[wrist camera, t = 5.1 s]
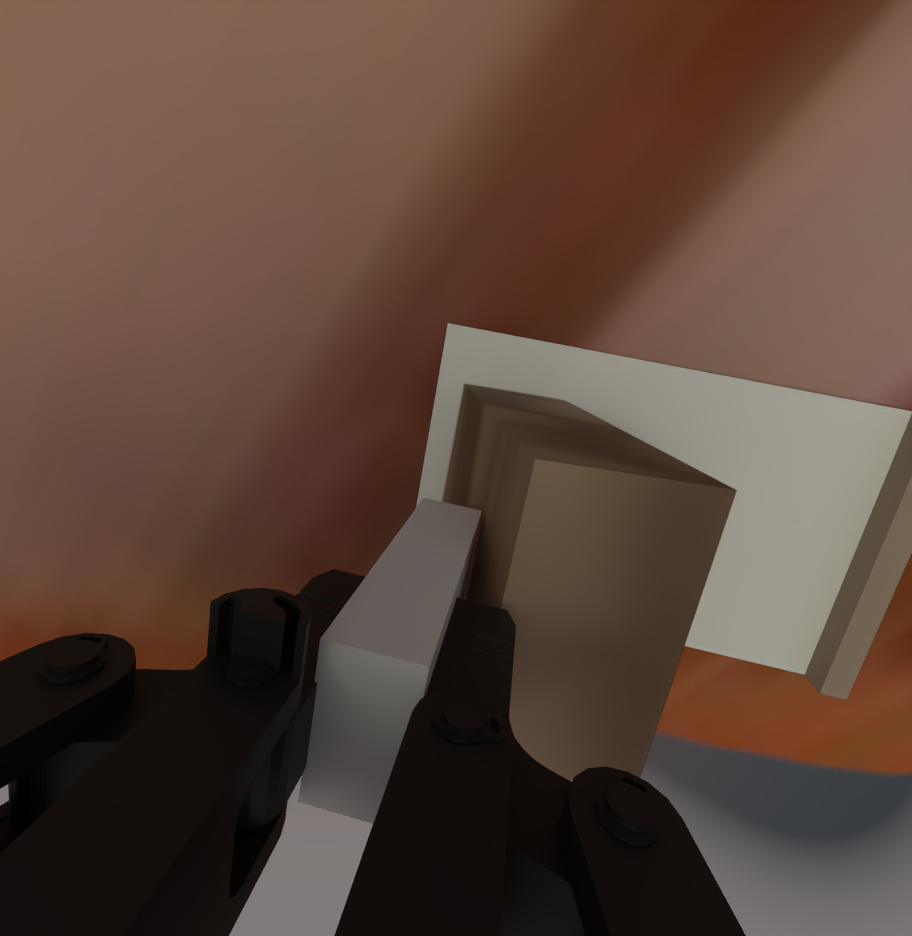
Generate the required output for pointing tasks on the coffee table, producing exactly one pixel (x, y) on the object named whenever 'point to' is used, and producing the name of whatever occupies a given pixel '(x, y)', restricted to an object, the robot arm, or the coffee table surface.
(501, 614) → the robot arm
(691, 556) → the block
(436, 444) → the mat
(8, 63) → the coffee table surface
